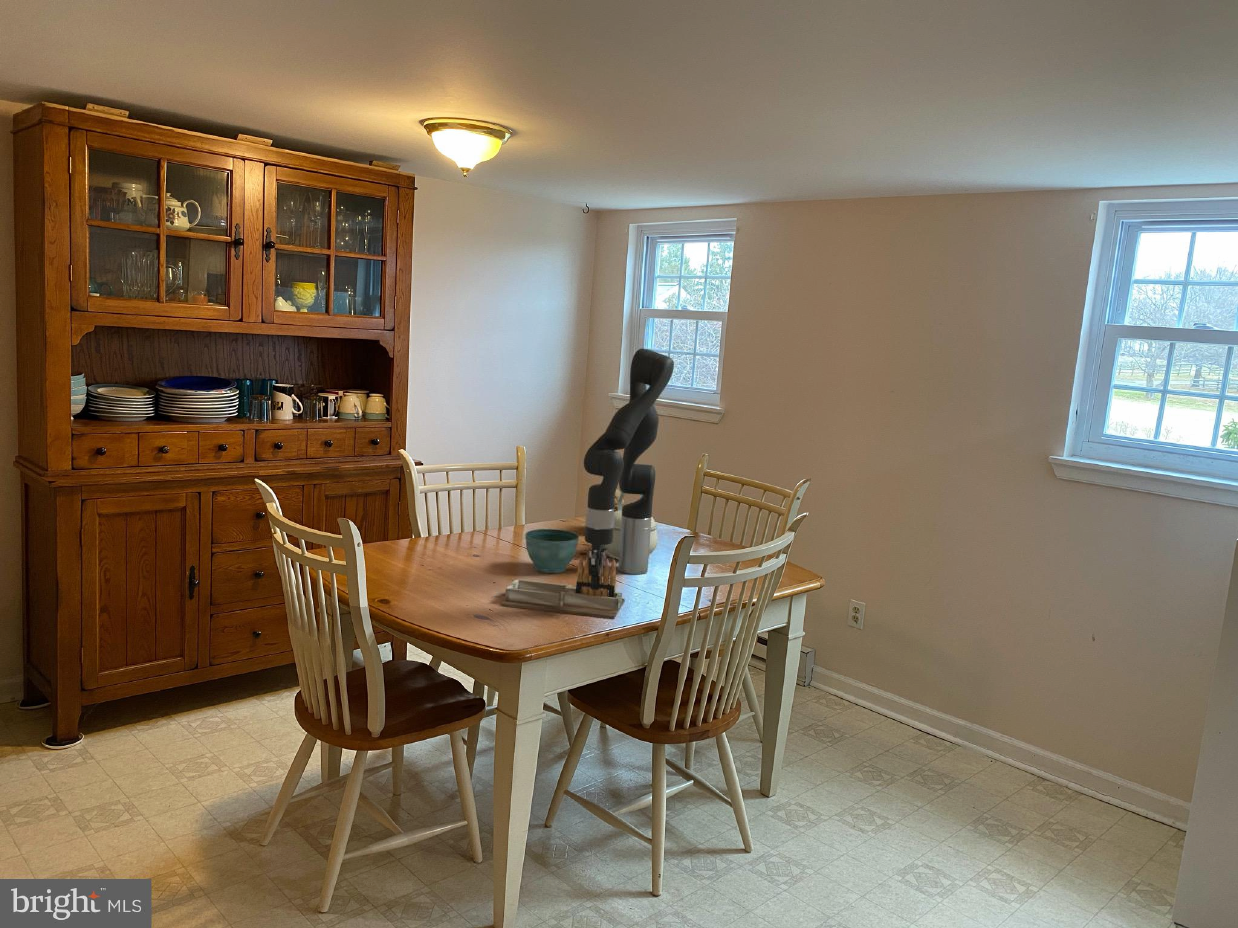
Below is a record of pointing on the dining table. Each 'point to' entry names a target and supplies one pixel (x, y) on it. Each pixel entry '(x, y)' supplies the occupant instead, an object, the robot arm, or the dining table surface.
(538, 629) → the dining table surface
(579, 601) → the shallow open tray
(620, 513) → the kettle
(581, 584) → the ammunition clip
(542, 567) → the flower pot
